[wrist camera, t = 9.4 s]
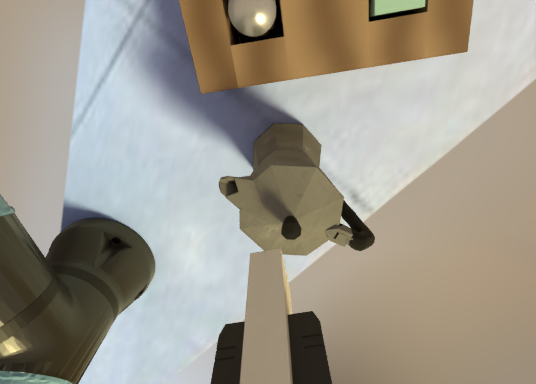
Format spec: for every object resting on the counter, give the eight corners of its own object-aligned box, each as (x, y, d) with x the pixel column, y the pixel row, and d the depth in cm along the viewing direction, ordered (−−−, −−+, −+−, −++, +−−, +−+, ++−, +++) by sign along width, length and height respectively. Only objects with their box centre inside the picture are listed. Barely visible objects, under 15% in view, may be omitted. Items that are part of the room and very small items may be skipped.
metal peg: (242, 40, 33) (233, 39, 26) (235, -2, 31) (223, -15, 25) (279, 34, 33) (279, 31, 26) (273, -9, 31) (272, -25, 24)
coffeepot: (226, 166, 40) (191, 247, 24) (254, 100, 37) (234, 144, 20) (327, 210, 43) (357, 310, 27) (364, 152, 39) (424, 228, 23)
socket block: (216, 84, 36) (201, 93, 29) (190, -40, 31) (163, -65, 24) (427, 50, 34) (467, 51, 26) (436, -89, 29) (489, -135, 21)
